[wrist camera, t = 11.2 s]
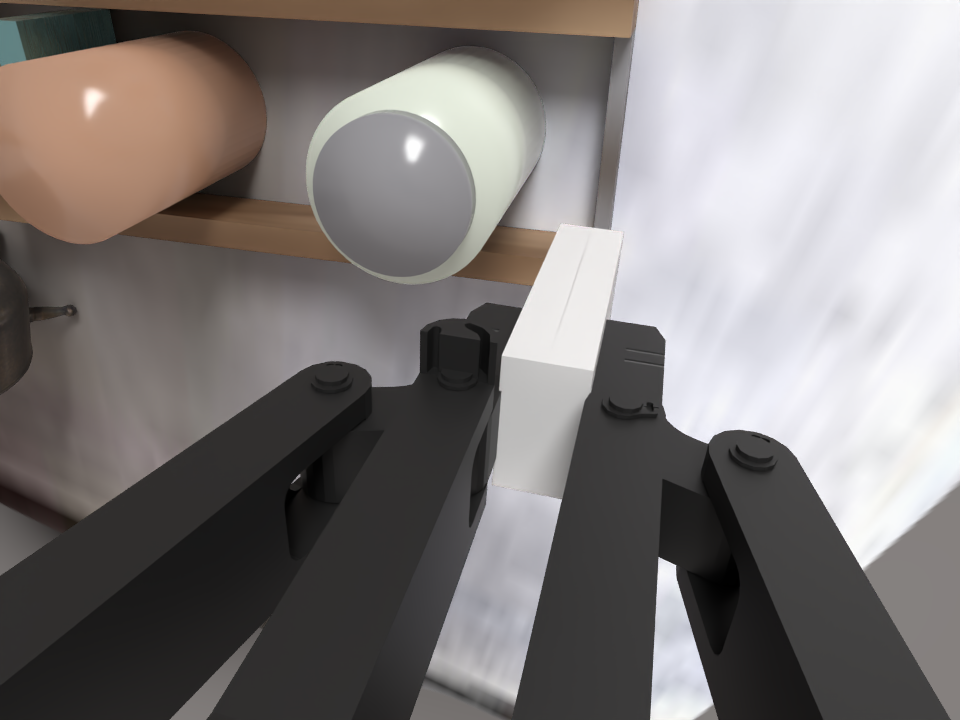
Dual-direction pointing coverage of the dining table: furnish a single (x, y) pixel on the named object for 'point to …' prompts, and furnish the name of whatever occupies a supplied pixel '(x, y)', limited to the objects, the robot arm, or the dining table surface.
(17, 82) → the jar in lane
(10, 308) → the alarm clock
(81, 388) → the dining table surface
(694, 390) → the dining table surface
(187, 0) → the lane
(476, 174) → the jar
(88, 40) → the pusher
